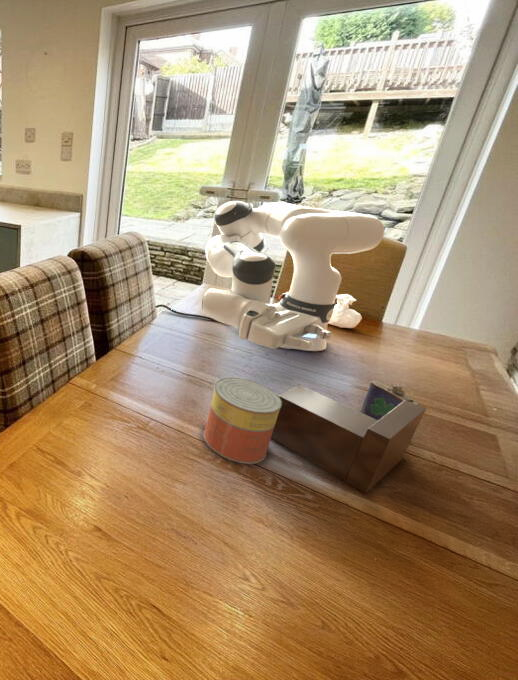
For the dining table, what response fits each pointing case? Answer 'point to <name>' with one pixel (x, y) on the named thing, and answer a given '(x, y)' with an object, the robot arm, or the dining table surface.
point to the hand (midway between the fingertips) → (320, 341)
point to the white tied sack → (345, 313)
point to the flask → (383, 399)
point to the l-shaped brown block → (345, 435)
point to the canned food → (241, 419)
